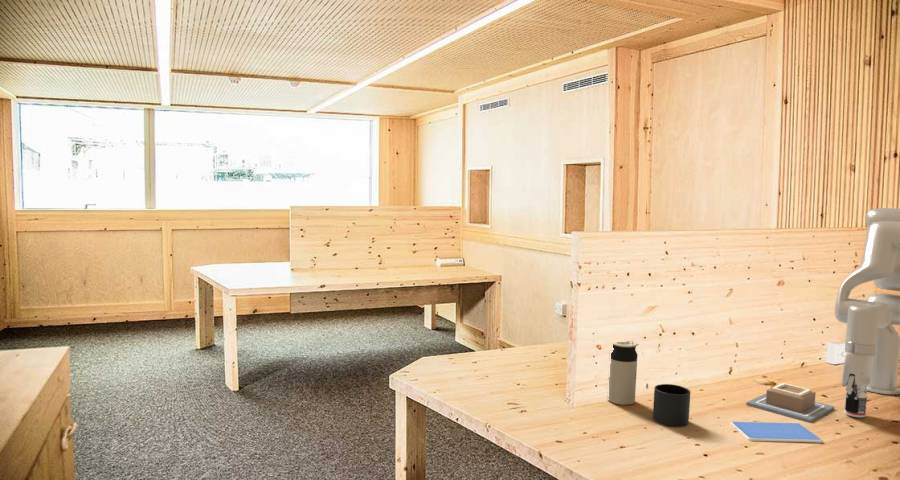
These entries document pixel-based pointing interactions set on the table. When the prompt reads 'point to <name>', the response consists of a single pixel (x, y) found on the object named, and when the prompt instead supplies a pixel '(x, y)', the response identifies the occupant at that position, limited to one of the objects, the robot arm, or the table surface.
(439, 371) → the table surface
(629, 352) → the travel mug
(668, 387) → the mug
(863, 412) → the pill bottle
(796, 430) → the blue rectangular panel
